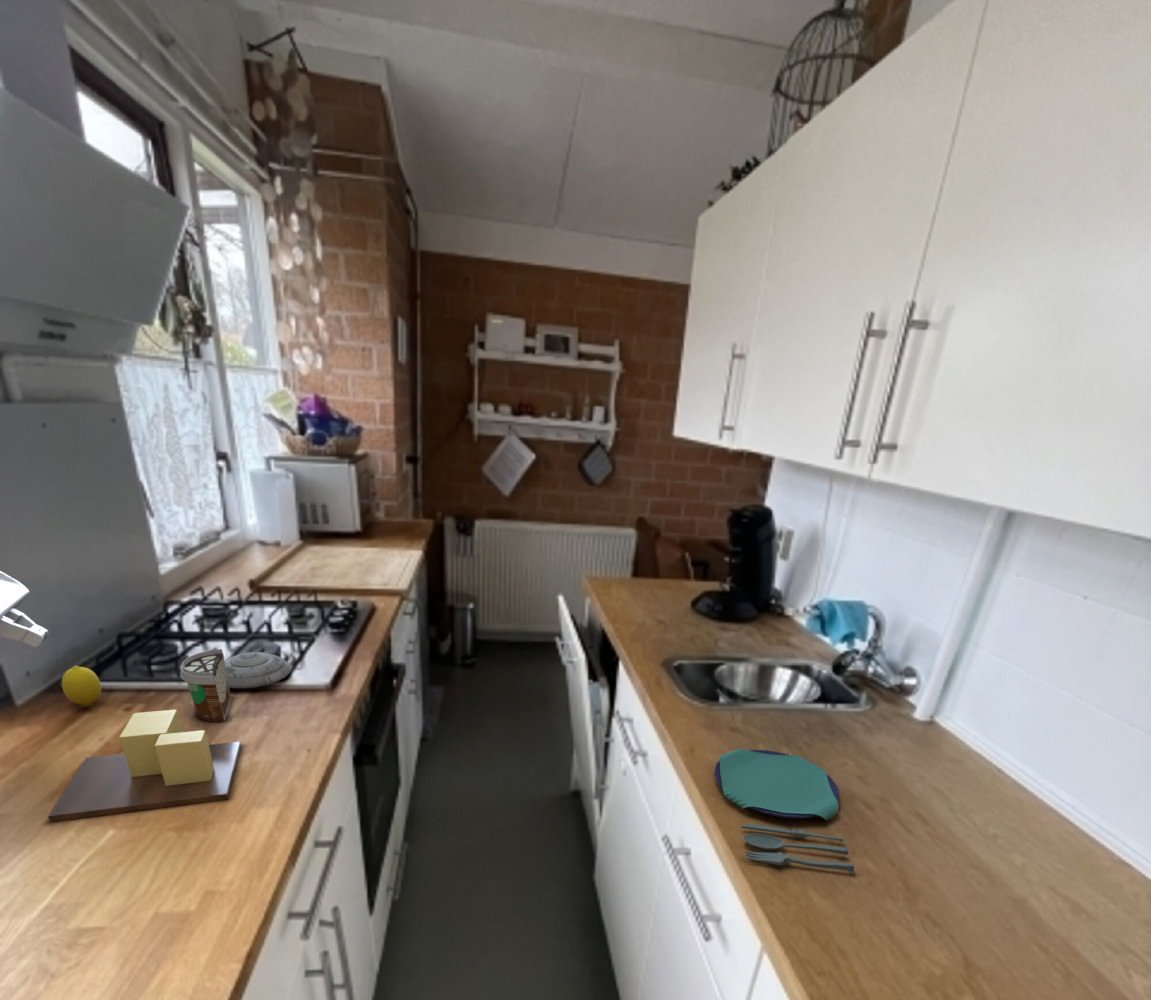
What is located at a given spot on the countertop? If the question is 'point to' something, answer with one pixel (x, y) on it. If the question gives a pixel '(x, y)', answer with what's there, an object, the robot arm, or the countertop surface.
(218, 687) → the food container
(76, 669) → the lemon
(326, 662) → the countertop surface
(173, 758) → the butter slice
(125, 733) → the butter block
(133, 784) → the butter board
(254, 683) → the flying saucer
